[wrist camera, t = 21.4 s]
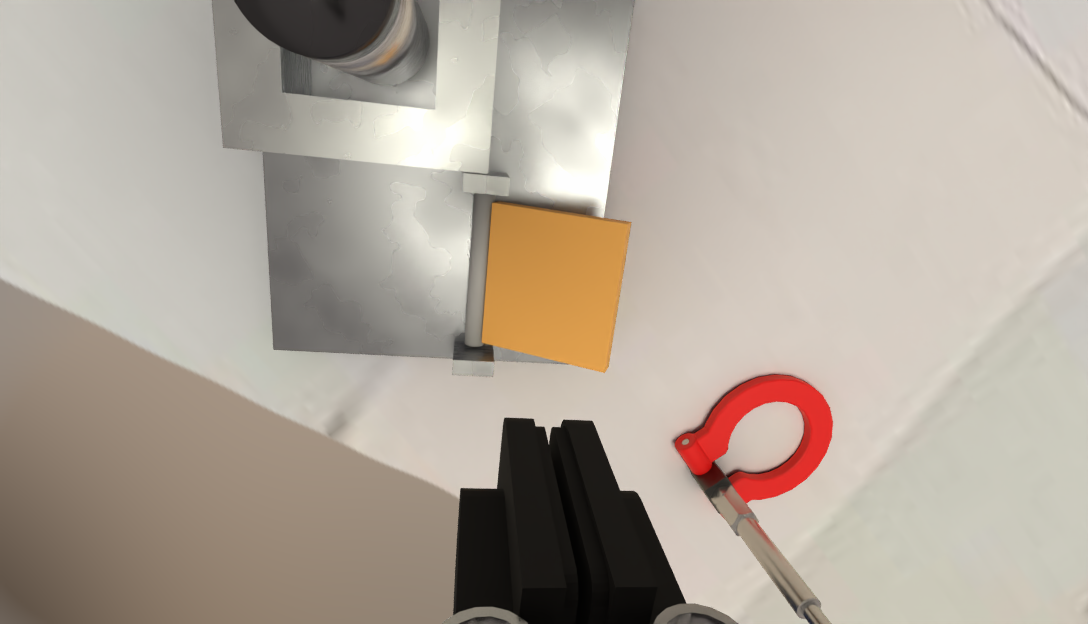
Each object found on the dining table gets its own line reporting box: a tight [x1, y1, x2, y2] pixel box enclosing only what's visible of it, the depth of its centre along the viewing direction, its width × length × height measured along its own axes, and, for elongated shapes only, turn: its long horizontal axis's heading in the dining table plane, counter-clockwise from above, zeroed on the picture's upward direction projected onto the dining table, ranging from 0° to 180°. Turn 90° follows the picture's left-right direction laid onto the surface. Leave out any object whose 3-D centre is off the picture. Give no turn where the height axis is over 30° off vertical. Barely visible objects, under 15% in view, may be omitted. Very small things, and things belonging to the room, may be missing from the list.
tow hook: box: [675, 374, 833, 624], centre depth 28 cm, size 8×13×9 cm
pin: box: [234, 0, 429, 85], centre depth 18 cm, size 4×4×11 cm
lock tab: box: [464, 193, 631, 373], centre depth 26 cm, size 8×1×8 cm
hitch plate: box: [212, 0, 634, 377], centre depth 24 cm, size 22×16×5 cm
